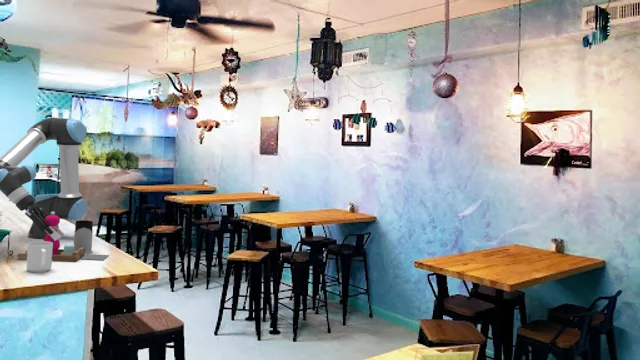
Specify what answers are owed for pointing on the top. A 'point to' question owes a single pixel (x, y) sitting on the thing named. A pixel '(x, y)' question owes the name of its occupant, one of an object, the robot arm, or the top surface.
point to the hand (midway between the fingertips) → (60, 237)
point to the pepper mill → (53, 222)
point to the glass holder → (83, 235)
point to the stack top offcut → (69, 248)
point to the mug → (39, 256)
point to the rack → (61, 256)
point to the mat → (94, 257)
